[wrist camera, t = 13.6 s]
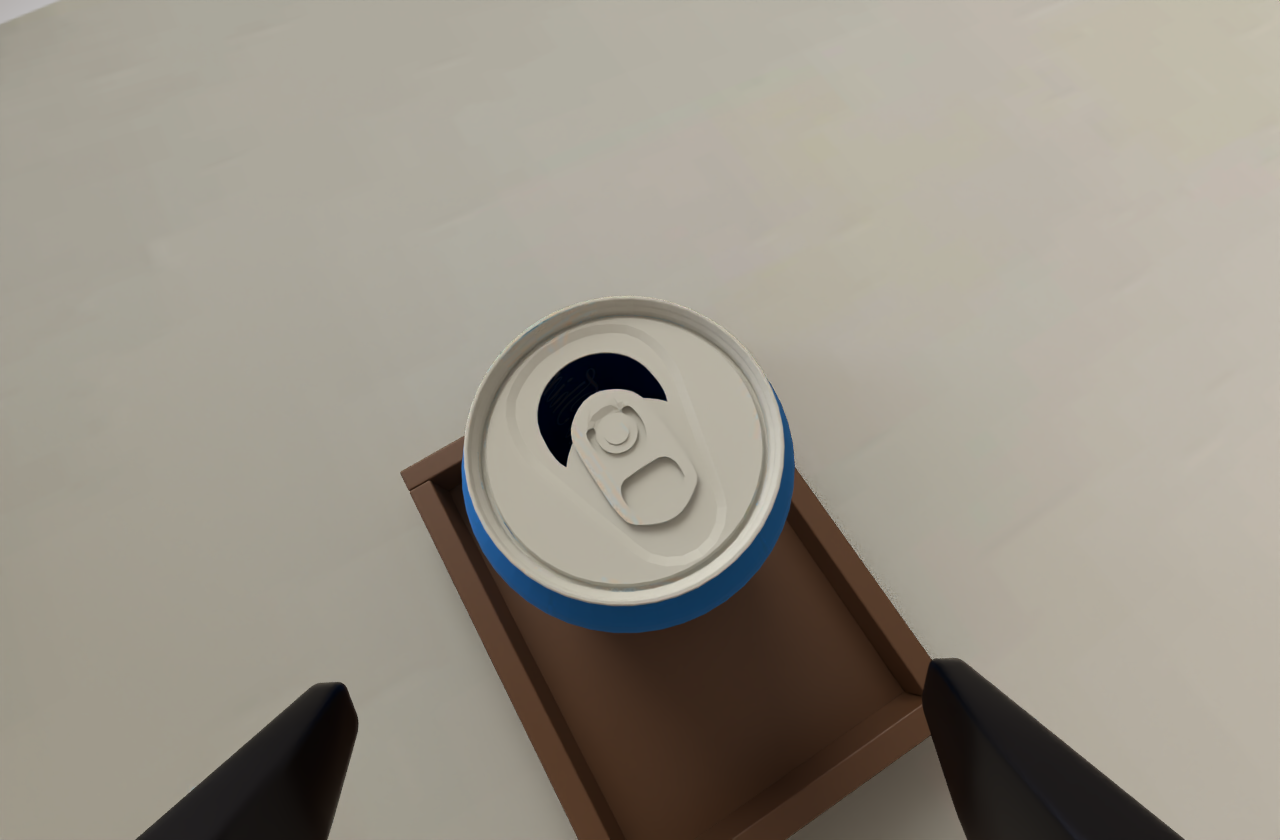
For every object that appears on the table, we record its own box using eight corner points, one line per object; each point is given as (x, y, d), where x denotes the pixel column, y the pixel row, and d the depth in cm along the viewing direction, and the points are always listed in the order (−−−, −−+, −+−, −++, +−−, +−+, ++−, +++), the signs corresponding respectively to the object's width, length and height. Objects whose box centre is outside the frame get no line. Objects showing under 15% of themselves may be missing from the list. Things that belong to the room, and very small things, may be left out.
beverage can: (666, 415, 23) (669, 218, 12) (770, 557, 22) (890, 485, 10) (521, 509, 22) (375, 393, 11) (617, 667, 21) (562, 722, 9)
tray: (931, 698, 21) (967, 709, 18) (636, 908, 19) (632, 950, 17) (682, 341, 25) (684, 310, 23) (426, 487, 23) (399, 471, 21)
